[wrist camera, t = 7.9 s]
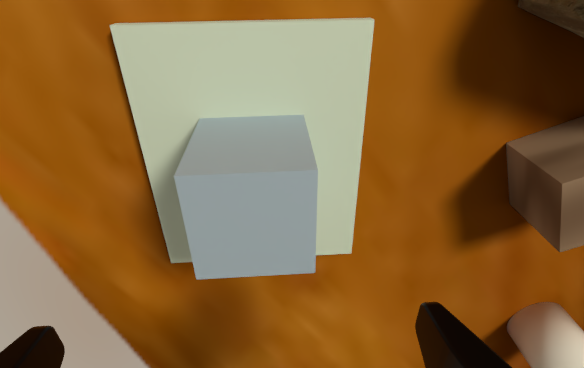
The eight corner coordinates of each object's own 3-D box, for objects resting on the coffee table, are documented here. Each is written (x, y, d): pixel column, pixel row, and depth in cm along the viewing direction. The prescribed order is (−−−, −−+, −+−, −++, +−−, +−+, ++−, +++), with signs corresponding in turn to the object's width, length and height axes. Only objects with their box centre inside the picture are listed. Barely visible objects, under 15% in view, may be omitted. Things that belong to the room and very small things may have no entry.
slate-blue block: (303, 199, 18) (315, 272, 14) (213, 204, 18) (196, 279, 13) (303, 114, 15) (317, 170, 11) (199, 118, 15) (173, 176, 11)
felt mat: (349, 246, 20) (351, 253, 20) (173, 255, 20) (170, 263, 19) (370, 17, 14) (374, 19, 14) (115, 23, 14) (109, 25, 13)
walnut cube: (583, 178, 19) (652, 224, 16) (508, 203, 20) (559, 252, 16) (588, 113, 17) (669, 149, 14) (504, 142, 18) (562, 184, 14)
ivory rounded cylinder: (551, 336, 26) (606, 407, 22) (499, 340, 26) (545, 412, 22) (573, 300, 24) (638, 370, 20) (516, 303, 24) (570, 375, 20)
